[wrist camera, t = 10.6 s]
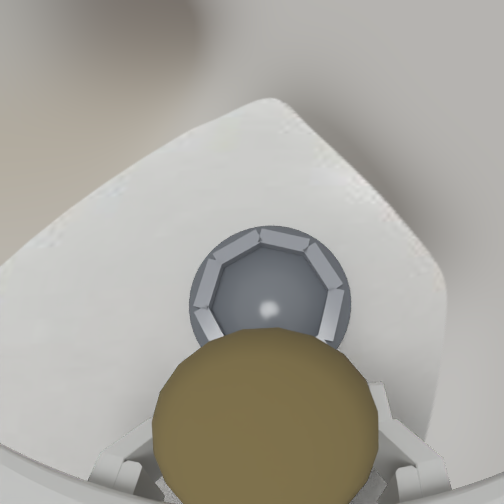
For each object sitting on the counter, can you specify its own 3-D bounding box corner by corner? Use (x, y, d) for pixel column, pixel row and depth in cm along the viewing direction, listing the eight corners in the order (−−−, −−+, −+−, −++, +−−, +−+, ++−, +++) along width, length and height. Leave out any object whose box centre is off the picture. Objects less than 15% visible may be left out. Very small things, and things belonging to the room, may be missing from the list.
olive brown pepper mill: (359, 365, 15) (463, 360, 5) (309, 468, 14) (324, 599, 3) (252, 321, 17) (184, 248, 7) (204, 422, 15) (76, 484, 5)
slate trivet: (379, 327, 24) (384, 325, 23) (238, 412, 23) (235, 415, 22) (295, 203, 29) (295, 194, 27) (166, 276, 28) (160, 270, 26)
